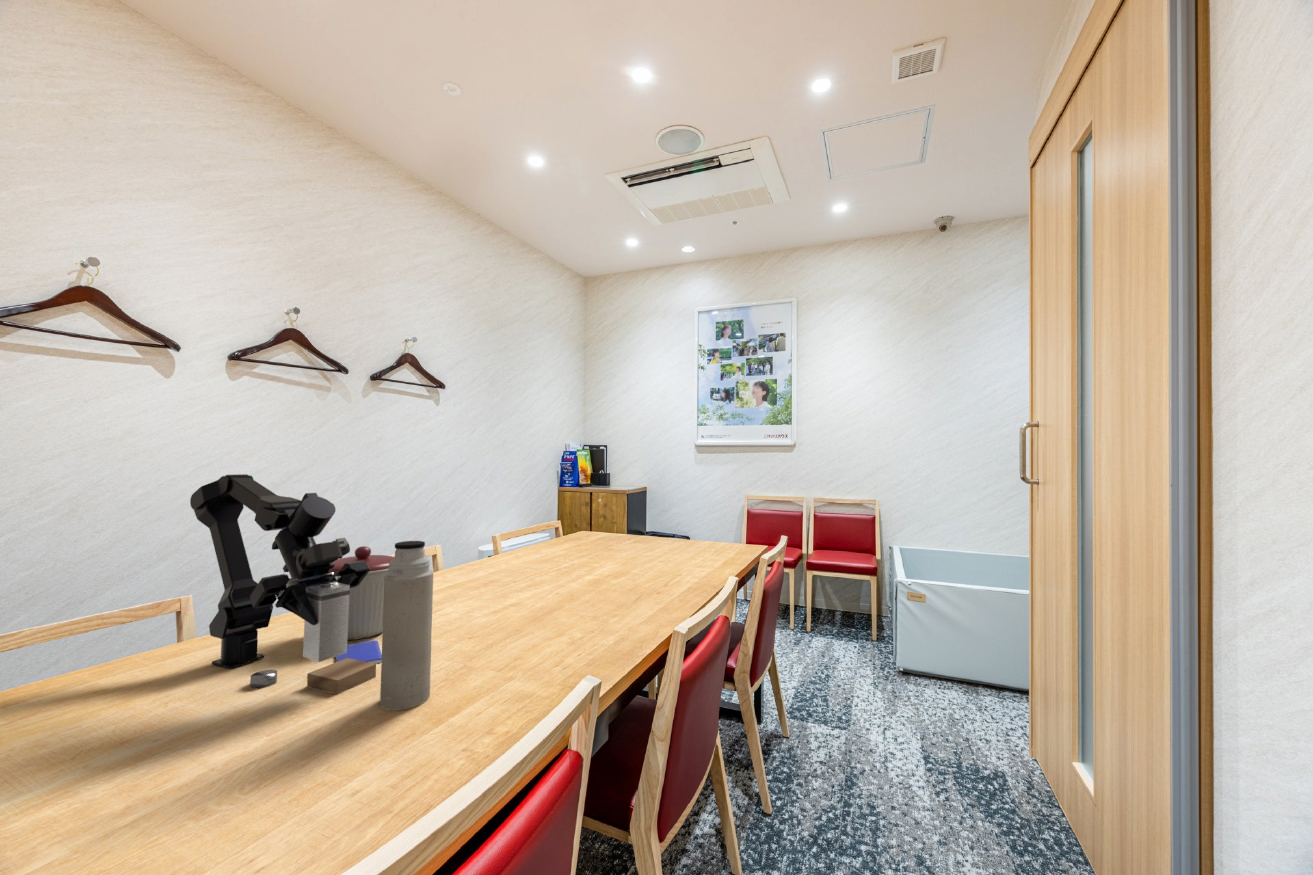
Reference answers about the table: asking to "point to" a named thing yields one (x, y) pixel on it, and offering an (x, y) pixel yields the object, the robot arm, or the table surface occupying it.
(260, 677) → the steel puck
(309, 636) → the plate
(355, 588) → the canister
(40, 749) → the table surface
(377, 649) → the hard drive
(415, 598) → the thermos bottle
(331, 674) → the stand
